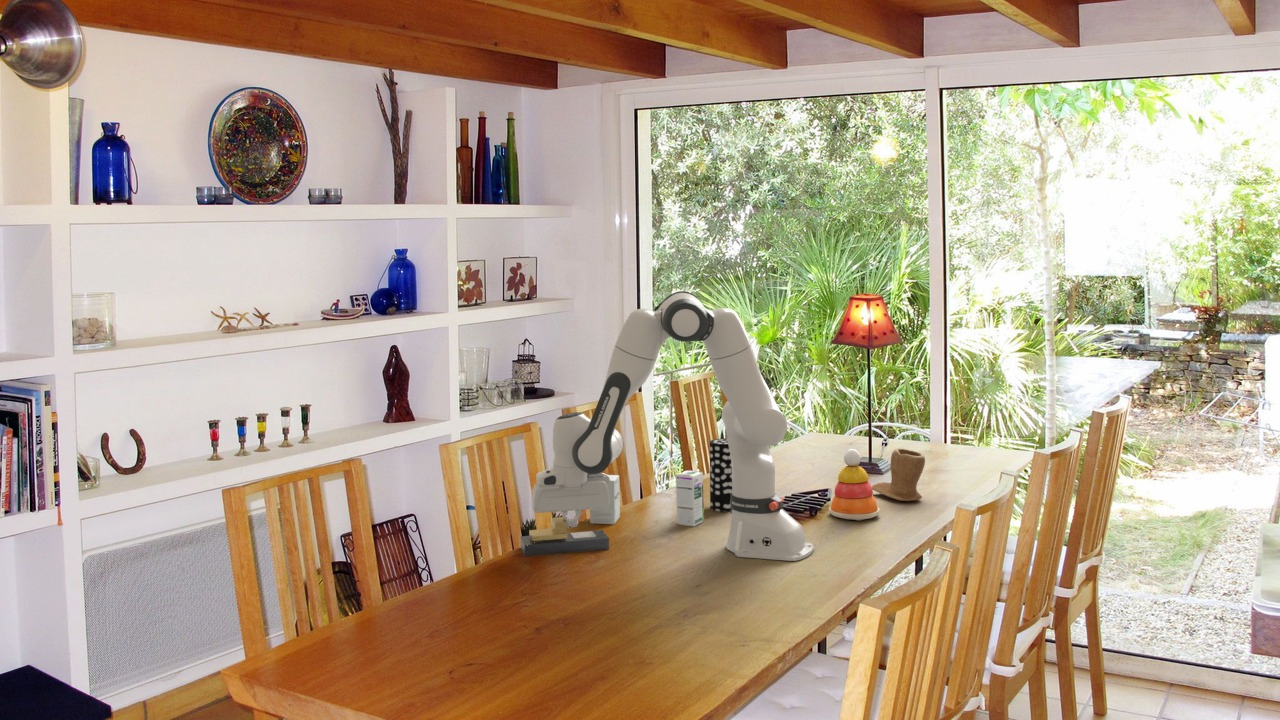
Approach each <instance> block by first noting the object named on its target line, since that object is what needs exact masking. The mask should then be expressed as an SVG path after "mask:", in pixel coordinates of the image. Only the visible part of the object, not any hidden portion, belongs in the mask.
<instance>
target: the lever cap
mask: <svg viewBox="0 0 1280 720" xmlns="http://www.w3.org/2000/svg"><path fill="white" fill-rule="evenodd" d="M551 526H552V527H551V528H541V529H539V528H538V529H528V530H529V532H528V533H529V535H528V536H530V537H531V539H532V541H540V540H552V539H564V538H567V533H568V531H567V530H568V527H567V522H566V520H565V519H564V517H563V516H559V517H558V516H557V517H551Z"/></svg>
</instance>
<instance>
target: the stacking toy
mask: <svg viewBox="0 0 1280 720" xmlns="http://www.w3.org/2000/svg"><path fill="white" fill-rule="evenodd" d="M861 460H862V459H861V454H860V453H859V451H858V450H857V449H855V448H849V449H848V450H846V451H845V453H844V455H843V462H844V464H846V466H844V467H843V468H842V469H841V470H840V471H839V473H838V477H837V481H838V482H837V483H836V485H835V487H834V496H833V498H832V501H831V504H830V506H829V508H828V511H829V513H830V514H831V515H832V516H834V517H836V518H840V519H844V520H855V521H863V520H867V519H872V518H874V517H875V518H876V517H877V516H878V515H879V513H880V508H879V506H878V505H877V501H876V498H875V497H874V495H873V494H874V493H873V492H874V490H872V485H871V483H870V482H869V475H868V473H867V470H865V469H864V468H863V467H862V466H859V465H860V463H861Z"/></svg>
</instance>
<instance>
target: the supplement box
mask: <svg viewBox="0 0 1280 720" xmlns="http://www.w3.org/2000/svg"><path fill="white" fill-rule="evenodd" d="M607 475H608V476H609V478H610V486H609V488H608V492H609V499H610V504H609V506H608V507H607V508H600V509H589V518H590V519H589V523H590V524H598V525H600V524H601V525H602V524H603V525H615V524H616V522H617V521H618V520H619V518H621V513H620V512H621V511H620V509H621V506H620V505H621V504H620V503H621V500H620V494H621V493H620V475H619V474H615V475H614V474H607ZM604 477H605V476H604Z"/></svg>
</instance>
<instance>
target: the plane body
mask: <svg viewBox="0 0 1280 720" xmlns="http://www.w3.org/2000/svg"><path fill="white" fill-rule="evenodd" d="M534 542H535V543H534ZM527 545H528V546H527ZM520 550H521V551H523V552H522V554H523V553H524V554H523V556H524V557H525V556H526V557H536V556H537V555H538V556H547V555H549V556H550V555H557V554H556V553H561V554H571V553H570V552H573V553H582V552H584V553H585V552H594V551H595V552H596V551H605V550H606V551H607V550H610V538H609V536H608V535H607V534H606V532H605V531H604V530H603V529H600V530H586V531H574V532H567V538H564V539H552V540H540V541H532V539H531V537H530V535H526V536H525V535H524V536H520ZM538 556H537V557H538Z"/></svg>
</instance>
